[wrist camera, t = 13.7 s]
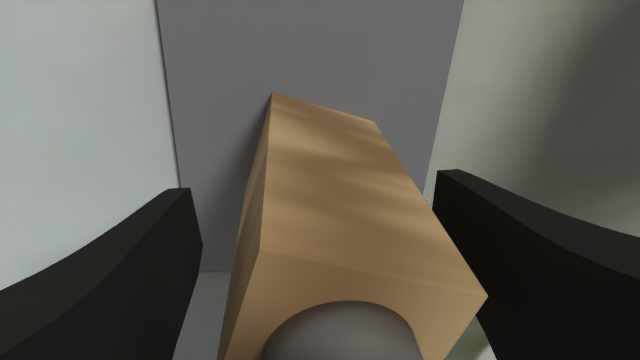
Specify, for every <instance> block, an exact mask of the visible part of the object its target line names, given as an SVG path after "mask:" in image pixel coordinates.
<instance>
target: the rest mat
mask: <svg viewBox="0 0 640 360" xmlns="http://www.w3.org/2000/svg"><path fill="white" fill-rule="evenodd" d="M463 3H464V0H157V7H158V15H159V22H160V30H161V38H162V45H163V53H164V60H165V68H166V76H167V83H168V91H169V98H170V106H171V114H172V121H173V129H174V136H175V144H176V152H177V159H178V167H179V174H180V182H181V188H188V187H190V188H191V193H192V197H193V202H194V206H195V211H196V215H197V220H198V224H199V229H200V233H201V238H202V242H203V249H202V256H201V262H200V268H199V272H232V267H233V261H234V256H235V250H236V244H237V238H238V232H239V226H240V221H241V215H242V209H243V203H244V197H245V191H246V185H247V182H248V178H249V175H250V171H251V167H252V164H253V160H254V156H255V153H256V149H257V146H258V142H259V138H260V135H261V131H262V127H263V124H264V120H265V117H266V113H267V109H268V106H269V102H270V98H271V95H272V91H273V92H277V93H280V94H283V95H287V96H290V97H293V98H297V99H300V100H303V101H307V102H310V103H313V104H317V105H320V106H323V107H327V108H330V109H333V110H337V111H340V112H343V113H347V114H350V115H353V116H357V117H360V118H363V119H367V120H370V121H373V122H375V124H376V125H377V127H378V128H379V130H380V131H381V133H382V134H383V136H384V138H385V139H386V141H387V142H388V144H389V145H390V147H391V148H392V150H393V151H394V153H395V154H396V156H397V157H398V159H399V160H400V162H401V164H402V165H403V167H404V168H405V170H406V171H407V173H408V174H409V176H410V177H411V179H412V180H413V182H414V183H415V185H416V186H417V188H418V190H419V191H420V193H421V194H422V195H423V190H424V185H425V181H426V176H427V171H428V167H429V162H430V157H431V153H432V148H433V143H434V139H435V134H436V129H437V125H438V120H439V115H440V111H441V106H442V101H443V97H444V92H445V87H446V83H447V78H448V73H449V69H450V64H451V59H452V55H453V50H454V45H455V41H456V36H457V31H458V27H459V22H460V17H461V13H462V8H463Z"/></svg>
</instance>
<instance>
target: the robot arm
mask: <svg viewBox="0 0 640 360" xmlns="http://www.w3.org/2000/svg"><path fill="white" fill-rule="evenodd" d="M432 211H433V212H434V214H435V215H436V217H437V219H438V220H439V222H440V223H441V225H442V226H443V228H444V229H445V231H446V232H447V234H448V235H449V237H450V238H451V240H452V241H453V243H454V245H455V246H456V248H457V249H458V251H459V252H460V254H461V255H462V257H463V258H464V260H465V261H466V263H467V264H468V266H469V267H470V269H471V271H472V272H473V274H474V275H475V277H476V278H477V280H478V281H479V283H480V284H481V286H482V287H483V289H484V290H485V292H486V293H487V295H488V298H487V299H486V300H485V302H484V303H483V305H482V306H481V308H480V309H479V310H478V312H477V313H476V317H477V319H478V321H479V323H480V324H481V326H482V328H483V330H484V332H485V334H486V337H487V339H488V341H489V343H490V345H491V348H492V350H493V352H494V354H495V357H496V359H497V360H640V237H636V236H632V235H628V234H624V233H621V232H617V231H614V230H610V229H607V228H604V227H600V226H597V225H594V224H591V223H588V222H585V221H582V220H579V219H576V218H573V217H570V216H568V215H565V214H562V213H559V212H557V211H554V210H552V209H549V208H547V207H544V206H542V205H539V204H537V203H535V202H532V201H530V200H528V199H525V198H523V197H521V196H518V195H516V194H514V193H512V192H510V191H507V190H505V189H503V188H501V187H499V186H497V185H494V184H492V183H490V182H488V181H486V180H483V179H481V178H479V177H477V176H474V175H472V174H470V173H467V172H464V171H462V170H458V169H453V170H439V171H437V177H436V184H435V192H434V199H433V207H432ZM202 249H203V242H202V238H201V233H200V229H199V224H198V220H197V215H196V211H195V206H194V202H193V197H192V193H191V188H190V187H188V188H173V189H167V190H166V191H164V192H162V193H161V194H159V195H158V196H156V197H155V198H153V199H152V200H151V201H149V202H148V203H146V204H145V205H144V206H142V207H141V208H140V209H138V210H137V211H136V212H134V213H133V214H131V215H130V216H129V217H127V218H126V219H124V220H123V221H122V222H120V223H119V224H117V225H116V226H114V227H113V228H111V229H110V230H108V231H107V232H105V233H104V234H102V235H101V236H99V237H98V238H96V239H95V240H93V241H92V242H90V243H89V244H87V245H86V246H84V247H83V248H81V249H79V250H78V251H76V252H74V253H73V254H71V255H69V256H67V257H66V258H64V259H62V260H60V261H58V262H57V263H55V264H53V265H51V266H49V267H48V268H46V269H44V270H42V271H40V272H38V273H36V274H34V275H32V276H30V277H28V278H26V279H24V280H22V281H19V282H17V283H15V284H13V285H11V286H9V287H7V288H5V289H3V290H1V291H0V360H172V358H173V354H174V351H175V347H176V343H177V340H178V337H179V334H180V331H181V328H182V325H183V322H184V319H185V315H186V312H187V309H188V306H189V303H190V300H191V297H192V294H193V290H194V287H195V284H196V281H197V277H198V273H199V268H200V262H201V256H202Z"/></svg>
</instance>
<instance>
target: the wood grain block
mask: <svg viewBox="0 0 640 360" xmlns="http://www.w3.org/2000/svg"><path fill="white" fill-rule="evenodd" d="M487 298H488V295H487V293H486V292H485V290H484V289H483V287H482V286H481V284H480V283H479V281H478V280H477V278H476V277H475V275H474V274H473V272H472V271H471V269H470V267H469V266H468V264H467V263H466V261H465V260H464V258H463V257H462V255H461V254H460V252H459V251H458V249H457V248H456V246H455V245H454V243H453V241H452V240H451V238H450V237H449V235H448V234H447V232H446V231H445V229H444V228H443V226H442V225H441V223H440V222H439V220H438V219H437V217H436V215H435V214H434V212H433V211H432V209H431V208H430V206H429V205H428V203H427V202H426V200H425V199H424V197H423V196H422V194H421V193H420V191H419V190H418V188H417V186H416V185H415V183H414V182H413V180H412V179H411V177H410V176H409V174H408V173H407V171H406V170H405V168H404V167H403V165H402V164H401V162H400V160H399V159H398V157H397V156H396V154H395V153H394V151H393V150H392V148H391V147H390V145H389V144H388V142H387V141H386V139H385V138H384V136H383V134H382V133H381V131H380V130H379V128H378V127H377V125H376V124H375V122H373V121H370V120H367V119H363V118H360V117H357V116H353V115H350V114H347V113H343V112H340V111H337V110H333V109H330V108H327V107H323V106H320V105H317V104H313V103H310V102H307V101H303V100H300V99H297V98H293V97H290V96H287V95H283V94H280V93H277V92H273V91H272V95H271V98H270V102H269V106H268V109H267V113H266V117H265V120H264V124H263V127H262V131H261V135H260V138H259V142H258V146H257V149H256V153H255V156H254V160H253V164H252V167H251V171H250V175H249V178H248V182H247V185H246V191H245V197H244V203H243V209H242V215H241V221H240V226H239V232H238V238H237V244H236V250H235V256H234V261H233V267H232V273H231V279H230V285H229V291H228V297H227V302H226V308H225V314H224V320H223V326H222V332H221V338H220V343H219V349H218V355H217V360H444V359H445V357H446V356H447V355H448V353H449V352H450V350H451V349H452V347H453V346H454V345H455V343H456V342H457V340H458V339H459V337H460V336H461V335H462V333H463V332H464V330H465V329H466V328H467V326H468V325H469V323H470V322H471V320H472V319H473V318H474V316H475V315H476V313H477V312H478V310H479V309H480V308H481V306H482V305H483V303H484V302H485V300H486V299H487Z"/></svg>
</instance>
